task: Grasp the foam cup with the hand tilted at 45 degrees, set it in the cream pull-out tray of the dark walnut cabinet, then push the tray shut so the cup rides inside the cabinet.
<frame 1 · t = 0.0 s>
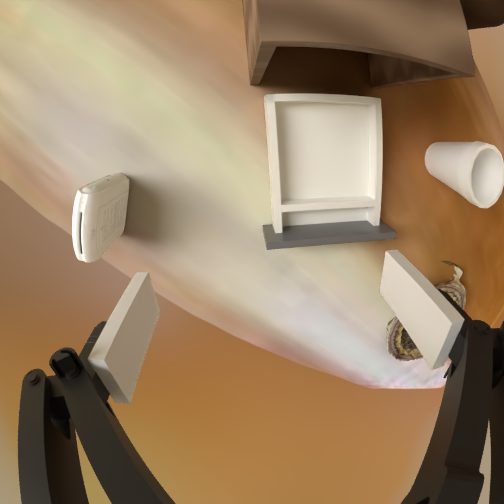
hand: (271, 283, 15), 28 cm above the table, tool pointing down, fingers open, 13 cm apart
tray: (329, 166, 36), point 4 cm above the table, slide at 15.5 cm
photo printer: (117, 203, 41), on the table
foam cup: (437, 159, 39), on the table
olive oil: (424, 14, 27), on the table
pie: (420, 314, 54), on the table
cabinet: (313, 41, 31), on the table
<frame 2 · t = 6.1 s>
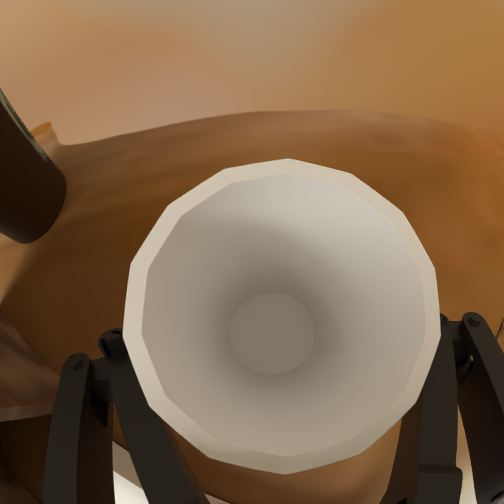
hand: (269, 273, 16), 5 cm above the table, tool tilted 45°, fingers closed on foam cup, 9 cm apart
foam cup: (271, 333, 20), on the table, touching gripper
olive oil: (38, 205, 24), on the table
cabinet: (14, 423, 16), on the table
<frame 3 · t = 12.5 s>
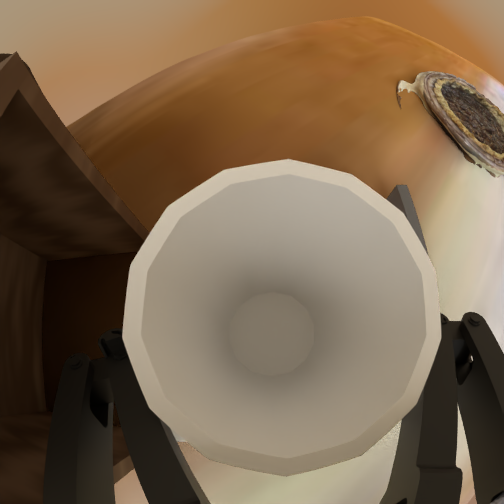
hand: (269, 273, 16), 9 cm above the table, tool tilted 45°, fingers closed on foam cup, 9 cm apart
tray: (297, 329, 20), point 4 cm above the table, slide at 15.5 cm
foam cup: (271, 334, 20), point 3 cm above the table, touching gripper
pie: (467, 132, 32), on the table
cabinet: (89, 339, 23), on the table
when the fingers open (8 cm above the table, at t = 13.3 s): foam cup drops 1 cm, resting on tray.
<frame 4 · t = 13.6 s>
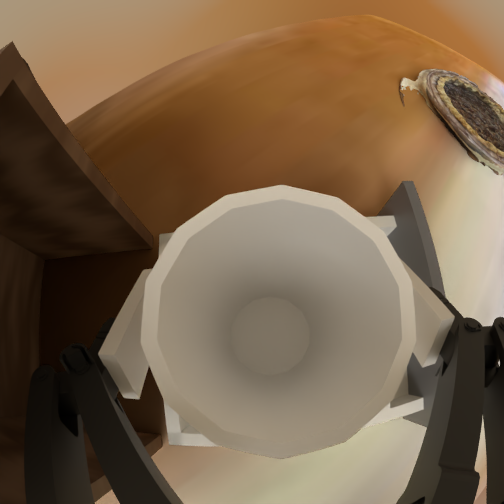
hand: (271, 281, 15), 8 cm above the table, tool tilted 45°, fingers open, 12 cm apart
tray: (302, 329, 19), point 4 cm above the table, slide at 15.6 cm, touching foam cup
foam cup: (269, 336, 21), point 1 cm above the table, touching tray
pie: (470, 130, 32), on the table
cabinet: (87, 339, 22), on the table
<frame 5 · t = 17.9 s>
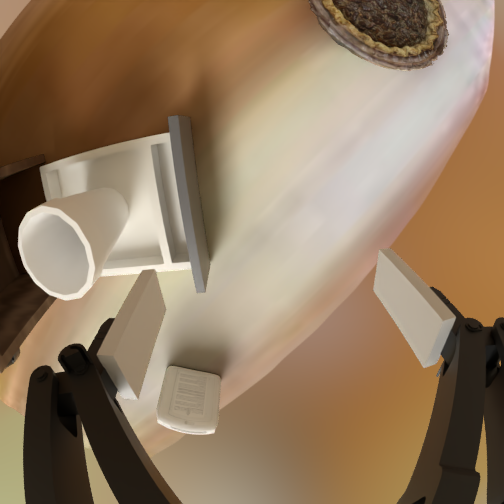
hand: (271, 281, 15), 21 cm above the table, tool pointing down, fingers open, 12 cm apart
tray: (114, 213, 30), point 4 cm above the table, slide at 15.6 cm, touching foam cup
photo printer: (193, 374, 47), on the table
foam cup: (107, 210, 32), point 1 cm above the table, touching tray
pie: (369, 7, 24), on the table
cabinet: (27, 224, 34), on the table
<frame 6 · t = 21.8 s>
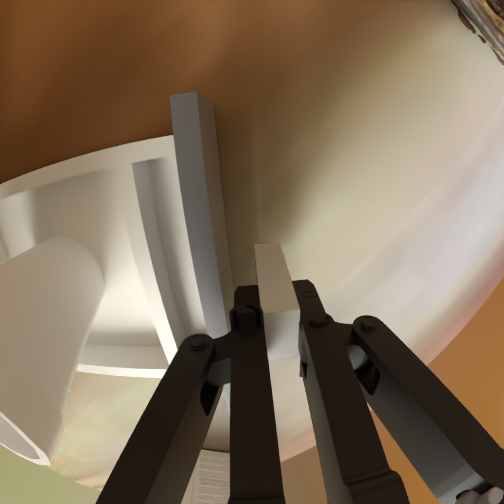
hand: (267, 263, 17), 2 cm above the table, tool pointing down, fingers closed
tray: (77, 288, 16), point 4 cm above the table, slide at 14.9 cm, touching foam cup, gripper
photo printer: (214, 453, 33), on the table
foam cup: (70, 274, 18), point 1 cm above the table, touching tray
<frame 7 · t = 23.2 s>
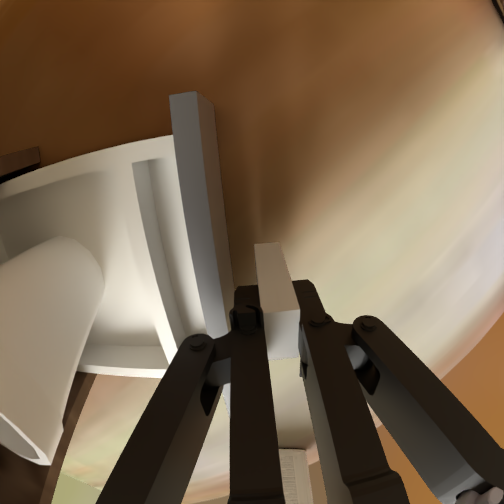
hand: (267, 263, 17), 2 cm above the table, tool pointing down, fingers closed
tray: (77, 288, 16), point 4 cm above the table, slide at 6.8 cm, touching foam cup, gripper
photo printer: (270, 450, 33), on the table
foam cup: (70, 273, 18), point 1 cm above the table, touching tray
cabinet: (16, 270, 19), on the table
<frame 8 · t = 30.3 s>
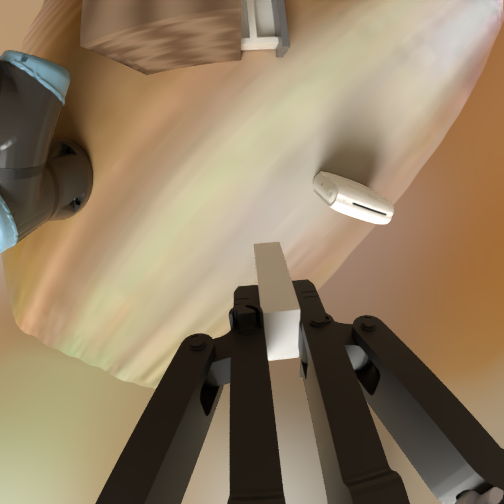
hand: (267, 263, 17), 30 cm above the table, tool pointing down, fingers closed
tray: (212, 4, 29), point 4 cm above the table, slide at 0.0 cm, touching foam cup
photo printer: (339, 187, 46), on the table
cabinet: (192, 15, 32), on the table
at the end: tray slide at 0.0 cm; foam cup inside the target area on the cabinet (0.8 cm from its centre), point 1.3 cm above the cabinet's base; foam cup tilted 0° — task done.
